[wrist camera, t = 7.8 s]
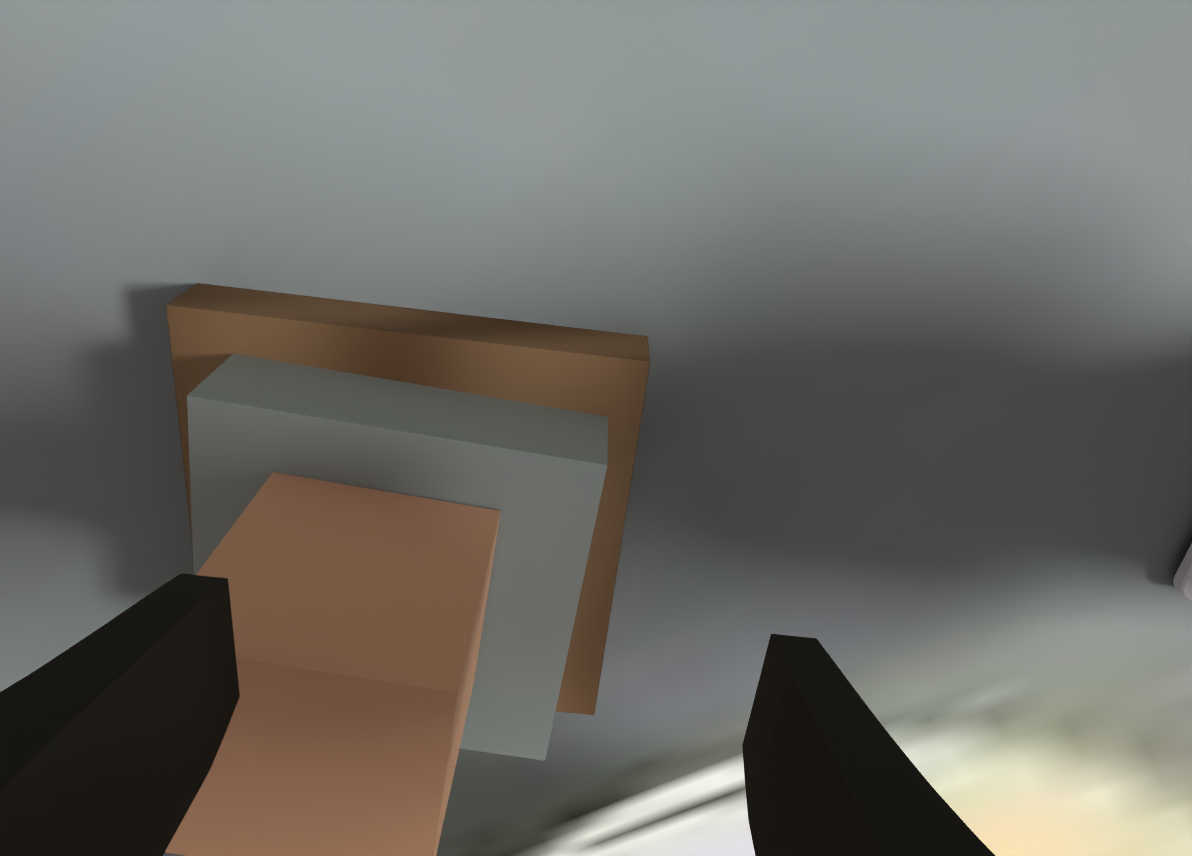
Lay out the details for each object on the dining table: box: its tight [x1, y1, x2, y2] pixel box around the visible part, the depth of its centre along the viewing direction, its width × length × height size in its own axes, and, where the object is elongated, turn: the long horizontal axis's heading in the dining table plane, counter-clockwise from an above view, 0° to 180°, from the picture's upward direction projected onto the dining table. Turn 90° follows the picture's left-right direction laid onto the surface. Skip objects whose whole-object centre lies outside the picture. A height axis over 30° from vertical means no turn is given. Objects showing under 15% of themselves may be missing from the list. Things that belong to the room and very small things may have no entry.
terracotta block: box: [165, 472, 501, 856], centre depth 16 cm, size 4×4×5 cm
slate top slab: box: [187, 353, 608, 761], centre depth 19 cm, size 8×8×2 cm
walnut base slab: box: [166, 283, 650, 715], centre depth 21 cm, size 10×10×2 cm
